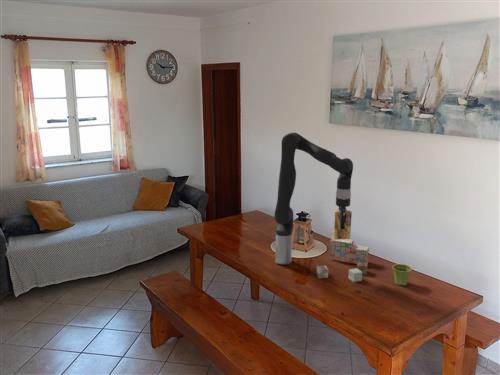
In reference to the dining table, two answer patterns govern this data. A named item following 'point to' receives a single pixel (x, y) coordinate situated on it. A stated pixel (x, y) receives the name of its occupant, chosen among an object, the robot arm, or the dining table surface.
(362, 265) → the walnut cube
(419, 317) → the dining table surface
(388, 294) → the dining table surface
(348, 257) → the stack of blocks
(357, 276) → the sage cube
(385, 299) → the dining table surface
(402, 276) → the plant pot
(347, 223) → the candy box
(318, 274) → the birch cube
